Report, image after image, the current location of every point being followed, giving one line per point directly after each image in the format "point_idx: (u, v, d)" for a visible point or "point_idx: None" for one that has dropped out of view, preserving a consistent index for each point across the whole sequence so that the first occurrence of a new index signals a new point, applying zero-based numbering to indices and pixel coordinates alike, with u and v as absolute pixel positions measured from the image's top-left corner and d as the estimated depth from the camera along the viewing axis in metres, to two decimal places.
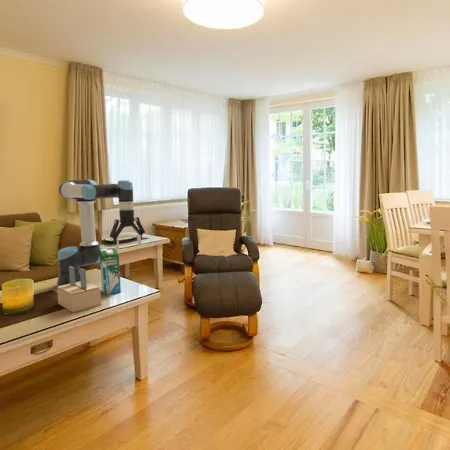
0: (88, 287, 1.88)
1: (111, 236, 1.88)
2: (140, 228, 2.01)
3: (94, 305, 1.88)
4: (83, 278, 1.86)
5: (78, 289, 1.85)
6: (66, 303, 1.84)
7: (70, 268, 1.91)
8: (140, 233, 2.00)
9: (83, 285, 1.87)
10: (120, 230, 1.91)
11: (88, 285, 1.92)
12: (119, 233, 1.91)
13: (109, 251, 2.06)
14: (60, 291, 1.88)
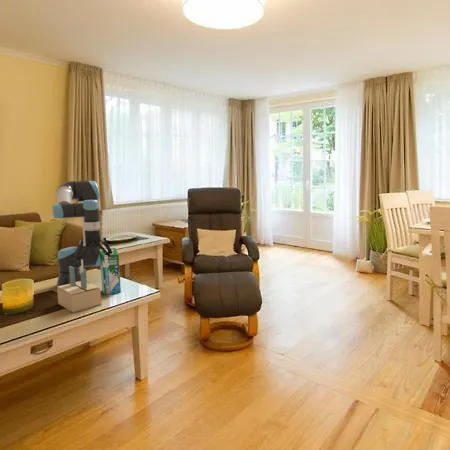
0: (88, 287, 1.88)
1: (75, 258, 1.82)
2: (107, 248, 1.95)
3: (94, 305, 1.88)
4: (83, 277, 1.86)
5: (78, 289, 1.85)
6: (66, 303, 1.84)
7: (70, 268, 1.91)
8: (107, 254, 1.94)
9: (83, 284, 1.87)
10: (85, 251, 1.85)
11: (88, 285, 1.92)
12: (84, 254, 1.85)
13: None
14: (60, 291, 1.88)
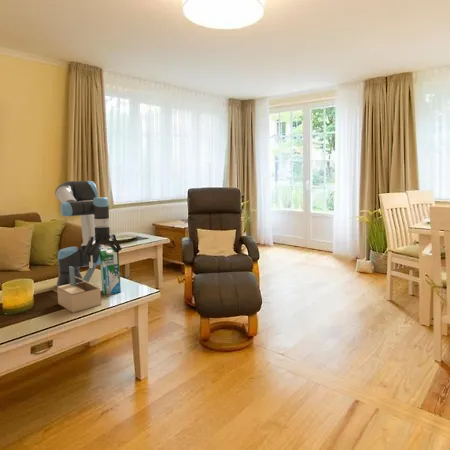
0: (89, 282, 1.89)
1: (84, 253, 1.85)
2: (116, 245, 1.98)
3: (94, 305, 1.88)
4: (91, 271, 1.88)
5: (78, 289, 1.85)
6: (66, 303, 1.84)
7: (70, 268, 1.91)
8: (116, 250, 1.97)
9: (87, 277, 1.88)
10: (94, 247, 1.88)
11: None
12: (93, 250, 1.88)
13: (109, 251, 2.06)
14: (60, 291, 1.88)
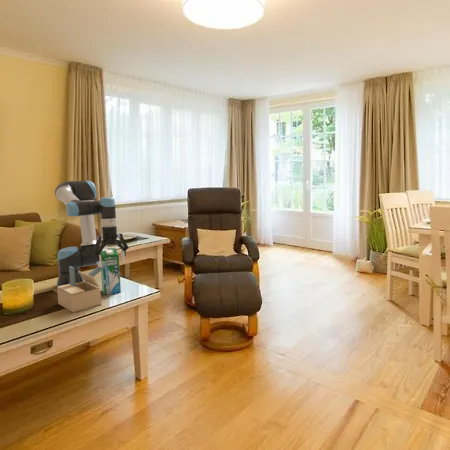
0: None
1: (93, 253, 1.89)
2: (123, 244, 2.01)
3: (94, 305, 1.88)
4: (99, 269, 1.91)
5: (78, 289, 1.85)
6: (66, 303, 1.84)
7: (70, 268, 1.91)
8: (123, 249, 2.01)
9: (92, 273, 1.90)
10: (103, 247, 1.92)
11: None
12: (101, 250, 1.91)
13: (109, 251, 2.06)
14: (60, 291, 1.88)
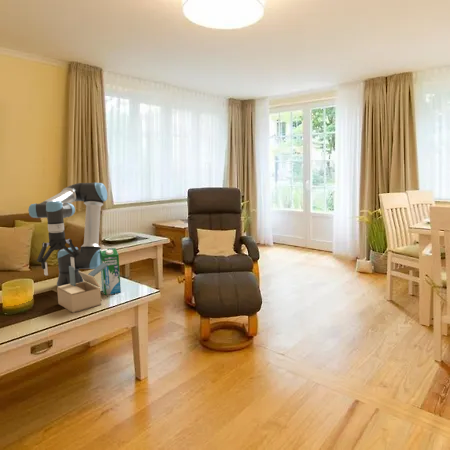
0: None
1: (38, 260, 1.78)
2: (73, 250, 1.91)
3: (94, 305, 1.88)
4: (99, 269, 1.91)
5: (78, 289, 1.85)
6: (66, 303, 1.84)
7: (70, 268, 1.91)
8: (73, 256, 1.90)
9: (93, 273, 1.90)
10: (49, 254, 1.81)
11: None
12: (47, 257, 1.81)
13: (109, 251, 2.06)
14: (60, 291, 1.88)
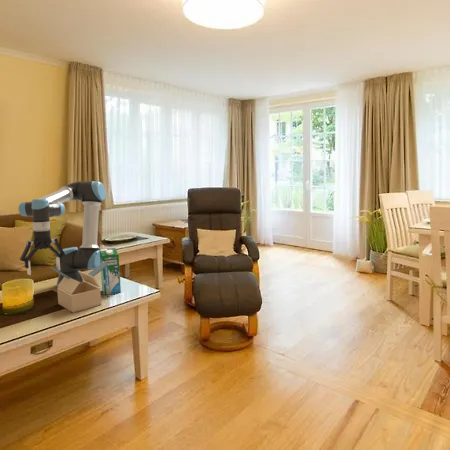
0: None
1: (21, 259, 1.72)
2: (59, 250, 1.85)
3: (94, 305, 1.88)
4: (99, 269, 1.91)
5: (74, 282, 1.83)
6: (66, 303, 1.84)
7: None
8: (59, 255, 1.85)
9: (93, 273, 1.90)
10: (33, 253, 1.75)
11: None
12: (31, 256, 1.75)
13: (109, 251, 2.06)
14: (60, 291, 1.88)
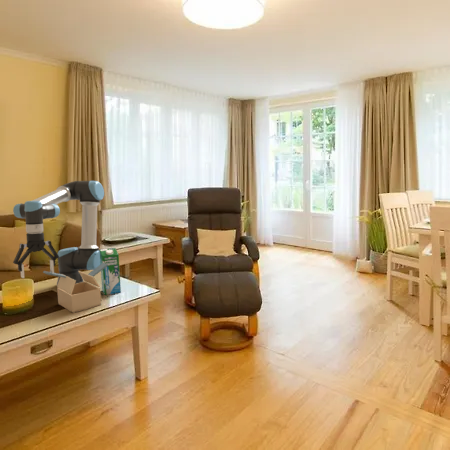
0: None
1: (14, 262, 1.70)
2: (53, 253, 1.83)
3: (94, 305, 1.88)
4: (99, 269, 1.91)
5: (70, 281, 1.82)
6: (66, 303, 1.84)
7: None
8: (52, 258, 1.82)
9: (93, 273, 1.90)
10: (26, 255, 1.73)
11: None
12: None
13: (109, 251, 2.06)
14: (60, 291, 1.88)
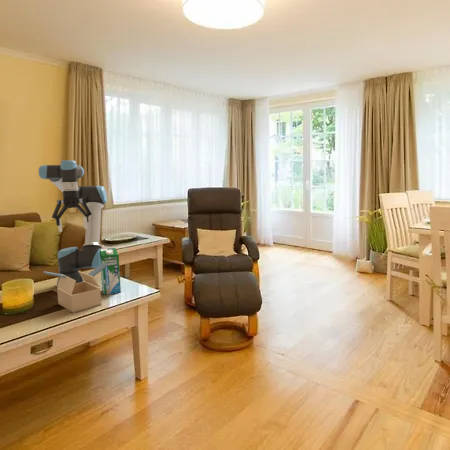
0: None
1: (53, 217, 1.85)
2: (86, 210, 1.97)
3: (94, 305, 1.88)
4: (99, 269, 1.91)
5: (70, 281, 1.82)
6: (66, 303, 1.84)
7: None
8: (86, 215, 1.97)
9: (93, 273, 1.90)
10: (63, 211, 1.88)
11: None
12: (62, 214, 1.87)
13: (109, 251, 2.06)
14: (60, 291, 1.88)
